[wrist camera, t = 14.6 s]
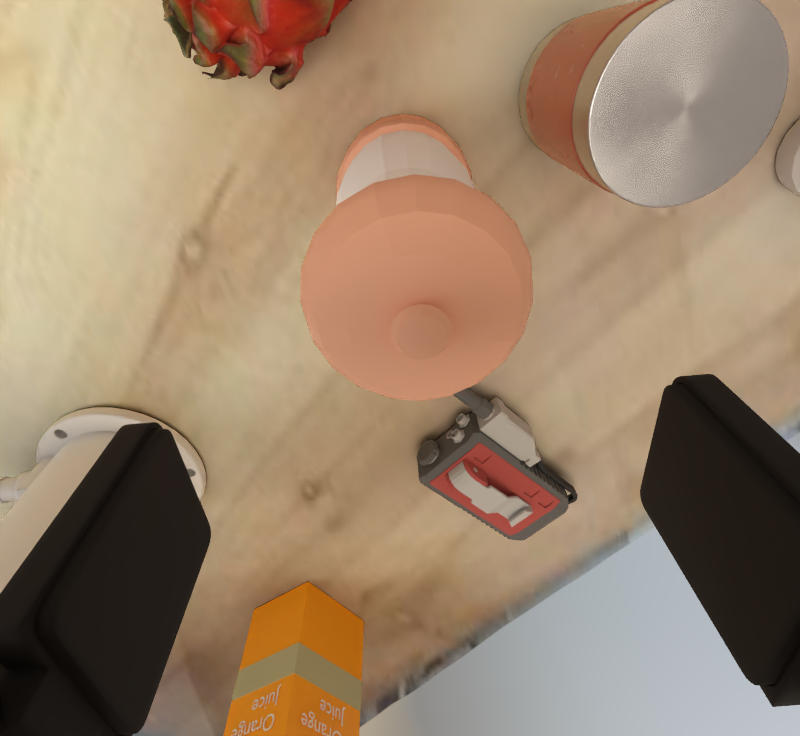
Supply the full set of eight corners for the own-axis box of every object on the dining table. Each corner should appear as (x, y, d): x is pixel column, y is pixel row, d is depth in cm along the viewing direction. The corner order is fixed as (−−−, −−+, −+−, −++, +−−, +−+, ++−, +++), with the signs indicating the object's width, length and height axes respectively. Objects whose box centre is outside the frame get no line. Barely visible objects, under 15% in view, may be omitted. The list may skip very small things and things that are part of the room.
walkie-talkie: (592, 470, 41) (417, 331, 34) (613, 510, 38) (421, 364, 30) (514, 524, 45) (339, 408, 38) (525, 567, 41) (334, 447, 34)
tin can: (514, 165, 29) (576, 216, 19) (520, 20, 25) (599, -4, 16) (635, 154, 28) (756, 201, 19) (658, 6, 25) (822, -26, 15)
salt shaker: (414, 82, 26) (458, 118, 10) (488, 193, 29) (613, 359, 13) (314, 172, 29) (217, 321, 12) (393, 266, 32) (398, 485, 15)
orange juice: (310, 646, 55) (276, 910, 38) (252, 609, 51) (185, 885, 34) (365, 620, 52) (355, 889, 35) (309, 580, 48) (267, 860, 32)
